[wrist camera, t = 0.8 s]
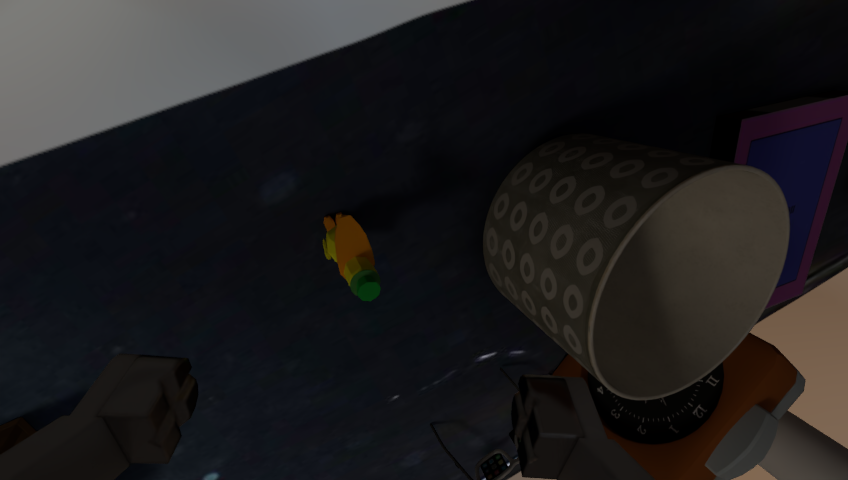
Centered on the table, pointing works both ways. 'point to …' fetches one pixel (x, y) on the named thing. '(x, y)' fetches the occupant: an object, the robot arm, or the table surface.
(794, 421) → the tall pillar cylinder
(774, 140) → the book
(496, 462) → the smart glasses
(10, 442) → the open wooden box
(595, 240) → the planter
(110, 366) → the robot arm
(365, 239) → the toy figure
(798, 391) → the alarm clock
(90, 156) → the table surface
